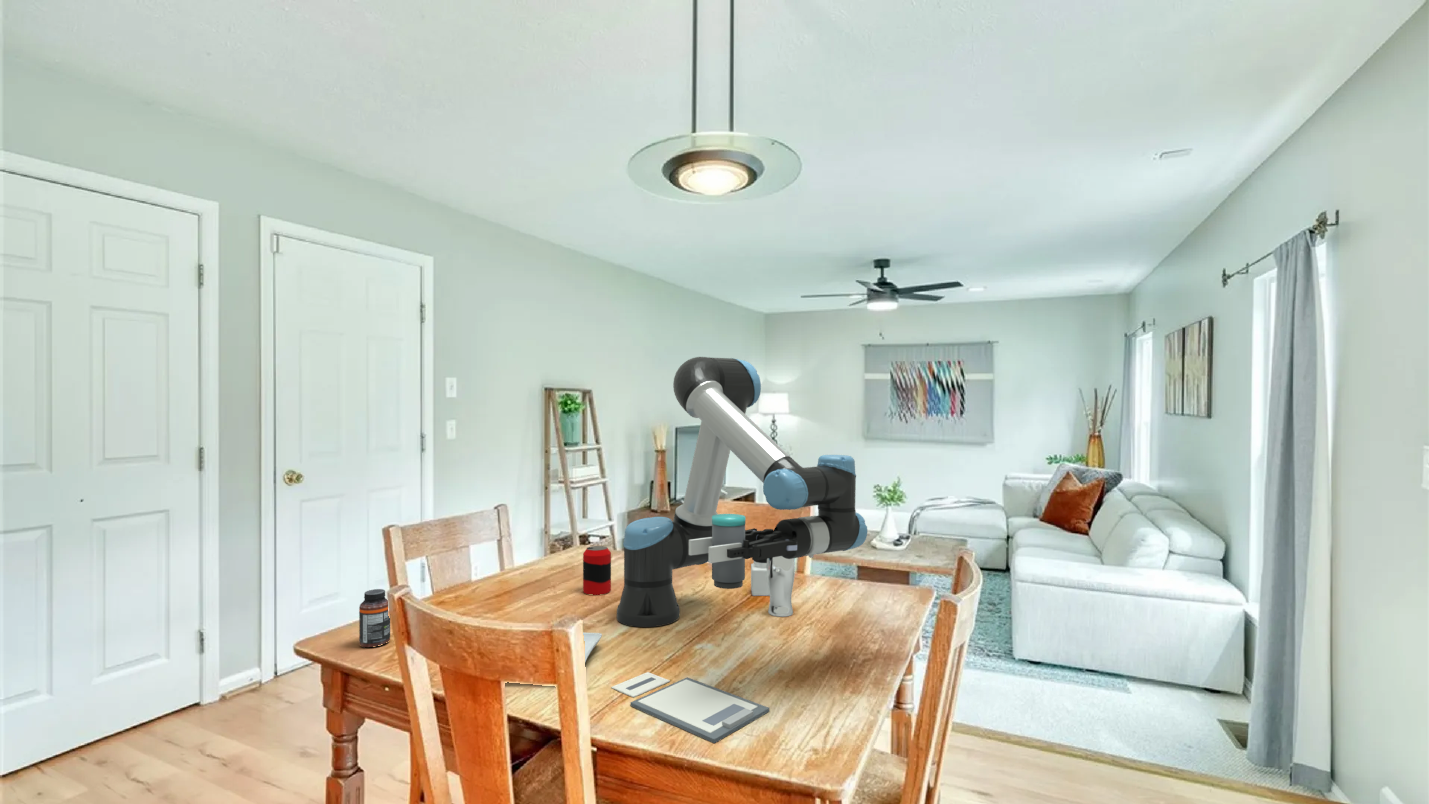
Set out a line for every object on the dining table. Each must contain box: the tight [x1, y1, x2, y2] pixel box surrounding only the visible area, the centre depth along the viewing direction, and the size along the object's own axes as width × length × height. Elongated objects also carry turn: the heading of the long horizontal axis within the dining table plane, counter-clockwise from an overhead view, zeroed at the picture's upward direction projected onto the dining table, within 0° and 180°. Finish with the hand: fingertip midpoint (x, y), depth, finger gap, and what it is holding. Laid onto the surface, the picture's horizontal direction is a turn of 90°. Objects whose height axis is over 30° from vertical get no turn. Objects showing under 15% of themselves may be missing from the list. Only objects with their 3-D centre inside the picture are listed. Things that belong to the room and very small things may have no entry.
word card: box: [611, 671, 671, 698], centre depth 121 cm, size 6×9×1 cm, turn 139°
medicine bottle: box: [750, 559, 770, 597], centre depth 182 cm, size 7×7×12 cm
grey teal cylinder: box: [711, 513, 746, 590], centre depth 120 cm, size 6×6×12 cm
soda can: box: [582, 545, 612, 596], centre depth 182 cm, size 8×8×12 cm
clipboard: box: [629, 676, 770, 744], centre depth 112 cm, size 19×14×1 cm
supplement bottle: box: [358, 588, 391, 648], centre depth 142 cm, size 6×6×11 cm
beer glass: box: [766, 556, 796, 618], centre depth 164 cm, size 7×7×15 cm
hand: (699, 551), depth 117 cm, fingers closed on grey teal cylinder, 6 cm apart
